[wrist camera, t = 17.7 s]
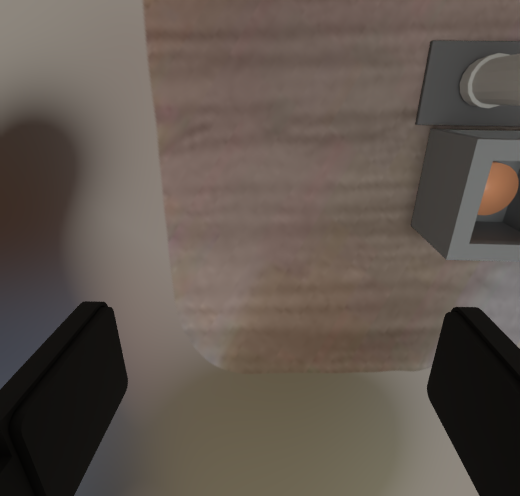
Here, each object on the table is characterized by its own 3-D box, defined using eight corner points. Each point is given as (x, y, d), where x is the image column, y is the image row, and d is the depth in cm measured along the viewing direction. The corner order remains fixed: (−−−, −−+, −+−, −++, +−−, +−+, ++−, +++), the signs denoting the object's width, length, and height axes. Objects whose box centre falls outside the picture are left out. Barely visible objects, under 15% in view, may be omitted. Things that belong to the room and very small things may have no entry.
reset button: (457, 158, 43) (470, 162, 40) (510, 159, 43) (526, 163, 40) (445, 207, 46) (456, 214, 43) (494, 208, 45) (509, 216, 43)
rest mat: (430, 41, 39) (433, 40, 39) (546, 42, 39) (550, 41, 39) (415, 124, 43) (417, 124, 43) (520, 125, 43) (524, 126, 42)
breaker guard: (430, 128, 43) (477, 139, 33) (535, 130, 43) (615, 141, 33) (410, 225, 49) (446, 259, 39) (504, 227, 48) (564, 262, 38)
